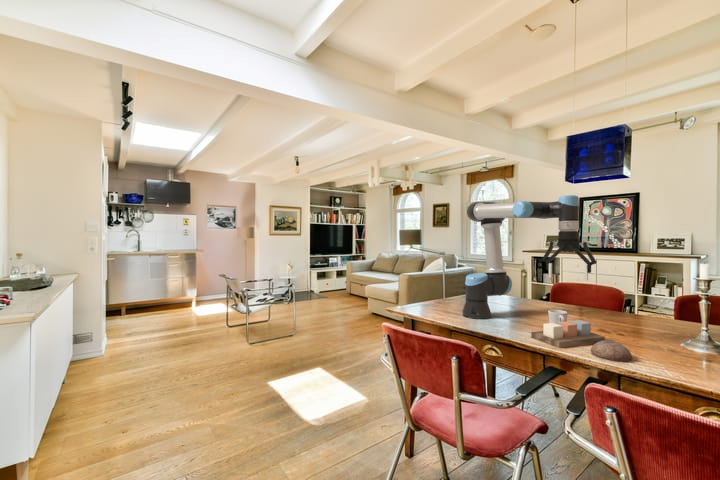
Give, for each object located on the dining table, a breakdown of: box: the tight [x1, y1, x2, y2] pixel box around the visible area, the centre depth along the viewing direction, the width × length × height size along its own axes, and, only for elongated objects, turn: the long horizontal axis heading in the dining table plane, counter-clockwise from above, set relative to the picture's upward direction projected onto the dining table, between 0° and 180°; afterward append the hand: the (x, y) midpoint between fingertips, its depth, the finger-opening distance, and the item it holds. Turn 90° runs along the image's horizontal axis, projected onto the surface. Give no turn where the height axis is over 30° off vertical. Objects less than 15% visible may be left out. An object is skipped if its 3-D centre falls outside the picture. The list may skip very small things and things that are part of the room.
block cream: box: [542, 322, 563, 339], centre depth 135 cm, size 5×5×5 cm
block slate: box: [570, 319, 592, 335], centre depth 139 cm, size 5×5×5 cm
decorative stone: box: [590, 340, 633, 363], centre depth 118 cm, size 12×12×6 cm
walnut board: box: [530, 330, 606, 349], centre depth 137 cm, size 14×24×2 cm, turn 106°
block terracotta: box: [557, 321, 577, 337], centre depth 137 cm, size 5×5×5 cm
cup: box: [547, 309, 569, 324], centre depth 153 cm, size 11×8×8 cm
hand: (567, 278), depth 141 cm, fingers open, 13 cm apart
